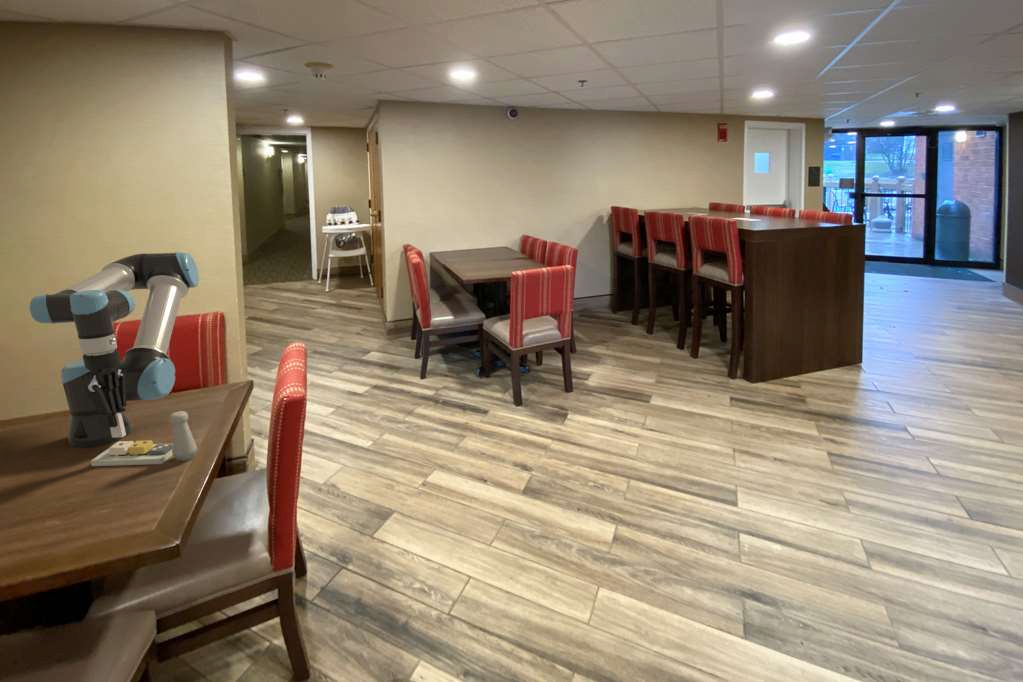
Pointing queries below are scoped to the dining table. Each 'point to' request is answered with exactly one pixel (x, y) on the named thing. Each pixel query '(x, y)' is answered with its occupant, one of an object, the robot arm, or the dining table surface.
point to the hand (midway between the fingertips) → (119, 436)
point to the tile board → (129, 459)
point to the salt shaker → (182, 437)
